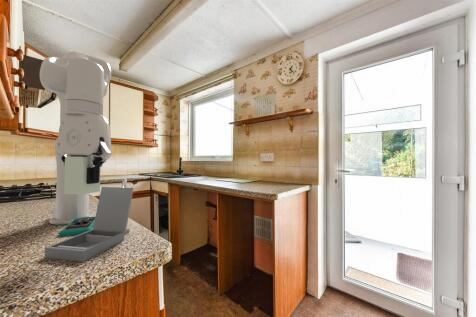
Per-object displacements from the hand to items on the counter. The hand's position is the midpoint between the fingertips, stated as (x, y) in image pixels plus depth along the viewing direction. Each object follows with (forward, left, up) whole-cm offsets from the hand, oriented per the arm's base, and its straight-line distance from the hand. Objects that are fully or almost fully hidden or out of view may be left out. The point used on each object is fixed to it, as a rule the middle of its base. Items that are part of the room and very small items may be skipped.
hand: (83, 182), depth 50 cm
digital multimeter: (-13, +12, -18) cm, 25 cm away
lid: (+2, +7, -8) cm, 11 cm away
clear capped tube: (+3, +10, -17) cm, 20 cm away
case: (+2, 0, -17) cm, 17 cm away
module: (0, 0, -3) cm, 3 cm away
